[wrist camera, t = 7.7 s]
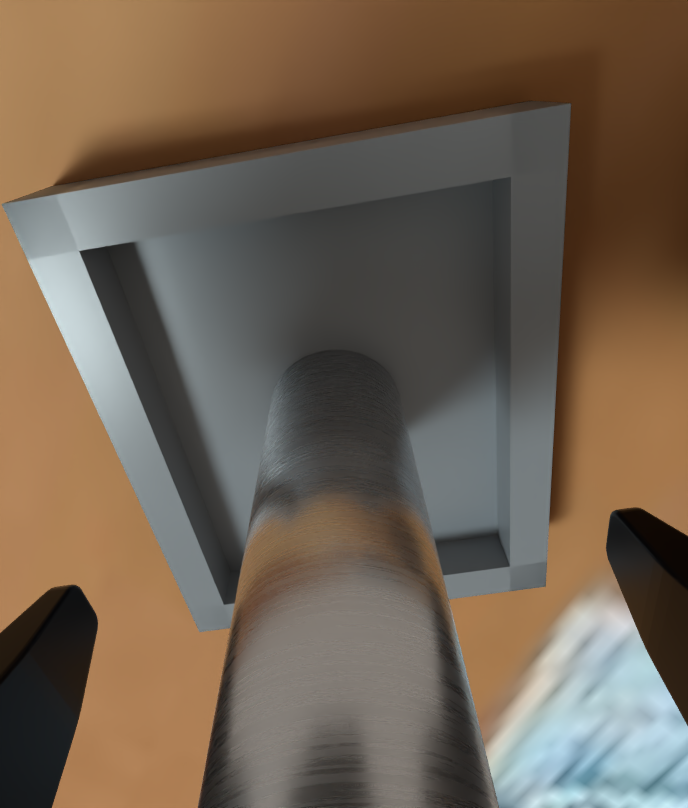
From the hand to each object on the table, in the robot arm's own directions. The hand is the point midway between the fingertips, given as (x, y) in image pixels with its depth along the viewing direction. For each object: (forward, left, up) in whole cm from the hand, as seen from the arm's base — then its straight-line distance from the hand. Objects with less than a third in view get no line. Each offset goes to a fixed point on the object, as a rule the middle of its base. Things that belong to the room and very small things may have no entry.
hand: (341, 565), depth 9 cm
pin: (0, 0, -5) cm, 5 cm away
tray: (0, 0, -6) cm, 6 cm away
